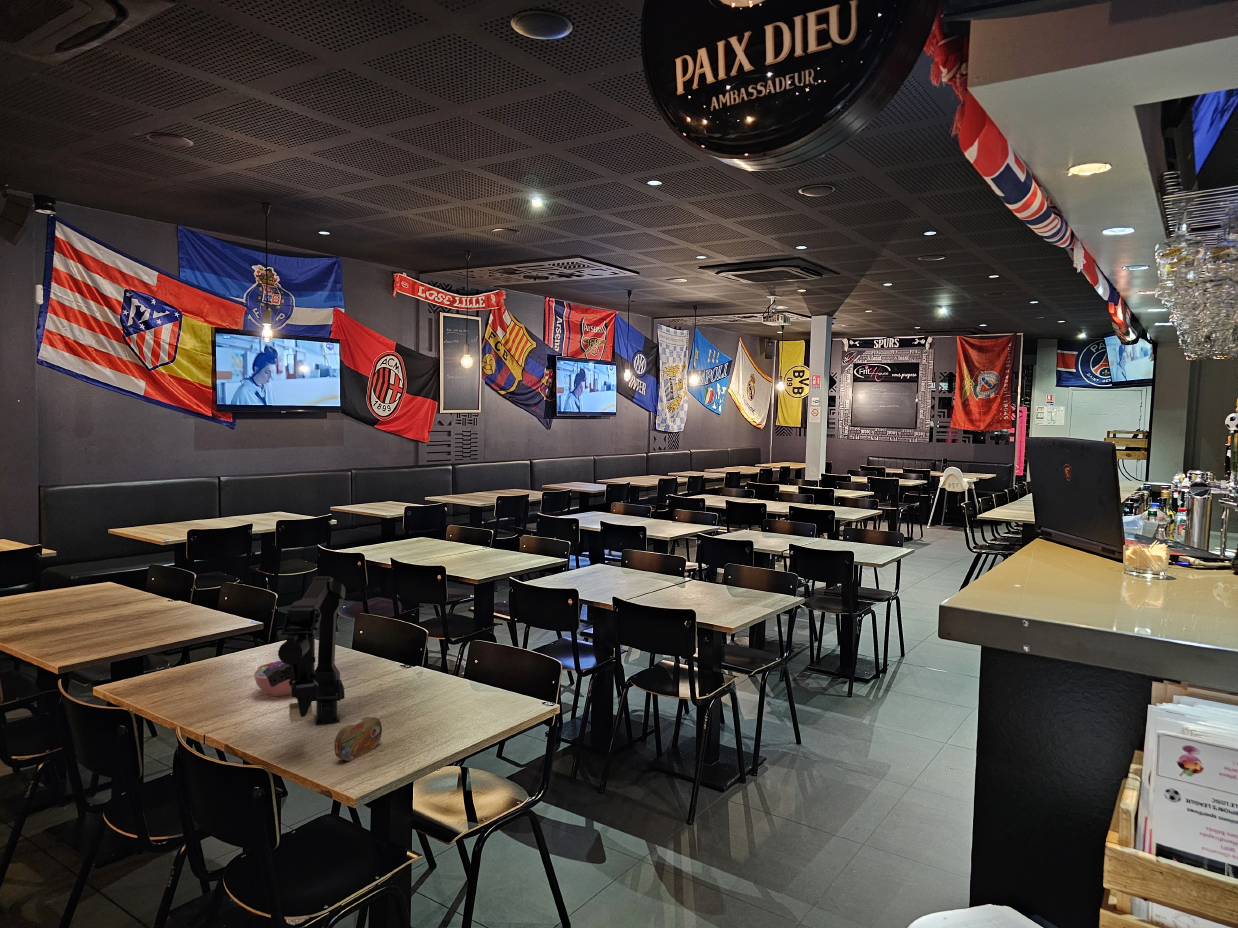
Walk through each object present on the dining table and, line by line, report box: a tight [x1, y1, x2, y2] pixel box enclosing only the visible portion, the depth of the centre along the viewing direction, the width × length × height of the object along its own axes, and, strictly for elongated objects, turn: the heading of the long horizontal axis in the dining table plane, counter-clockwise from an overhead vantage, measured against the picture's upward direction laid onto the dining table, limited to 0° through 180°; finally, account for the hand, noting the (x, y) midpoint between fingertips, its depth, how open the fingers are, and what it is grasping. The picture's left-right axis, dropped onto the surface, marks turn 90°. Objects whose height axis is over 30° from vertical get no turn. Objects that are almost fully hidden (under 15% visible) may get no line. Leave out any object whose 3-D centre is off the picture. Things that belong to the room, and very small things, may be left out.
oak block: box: [288, 701, 313, 723], centre depth 191 cm, size 5×5×3 cm
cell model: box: [253, 660, 311, 698], centre depth 237 cm, size 17×20×11 cm
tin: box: [333, 716, 383, 762], centre depth 192 cm, size 15×3×8 cm, turn 157°
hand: (302, 712), depth 191 cm, fingers closed on oak block, 5 cm apart
